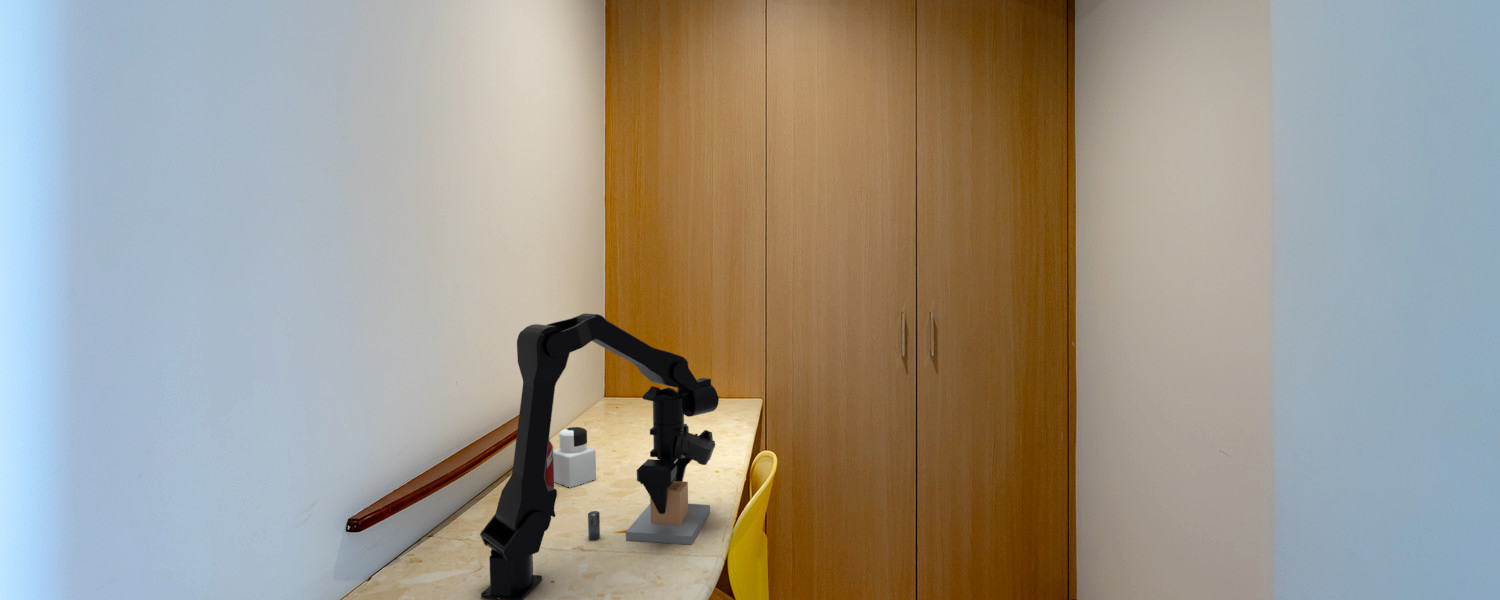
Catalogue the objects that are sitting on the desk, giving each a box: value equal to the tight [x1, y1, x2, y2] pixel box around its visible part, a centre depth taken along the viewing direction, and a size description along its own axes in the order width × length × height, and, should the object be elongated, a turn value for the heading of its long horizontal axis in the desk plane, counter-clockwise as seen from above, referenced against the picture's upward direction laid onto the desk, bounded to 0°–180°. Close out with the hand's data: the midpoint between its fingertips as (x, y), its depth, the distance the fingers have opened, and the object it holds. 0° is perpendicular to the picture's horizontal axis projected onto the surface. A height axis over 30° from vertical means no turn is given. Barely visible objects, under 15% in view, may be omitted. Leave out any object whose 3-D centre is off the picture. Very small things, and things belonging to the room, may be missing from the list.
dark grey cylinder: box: [587, 510, 601, 541], centre depth 106 cm, size 2×2×4 cm
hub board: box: [625, 503, 711, 546], centre depth 111 cm, size 14×12×6 cm
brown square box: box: [649, 481, 689, 525], centre depth 111 cm, size 6×6×6 cm
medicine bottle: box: [553, 426, 597, 489], centre depth 135 cm, size 7×7×12 cm
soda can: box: [545, 437, 555, 489], centre depth 127 cm, size 7×7×12 cm
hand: (669, 503), depth 111 cm, fingers open, 9 cm apart
